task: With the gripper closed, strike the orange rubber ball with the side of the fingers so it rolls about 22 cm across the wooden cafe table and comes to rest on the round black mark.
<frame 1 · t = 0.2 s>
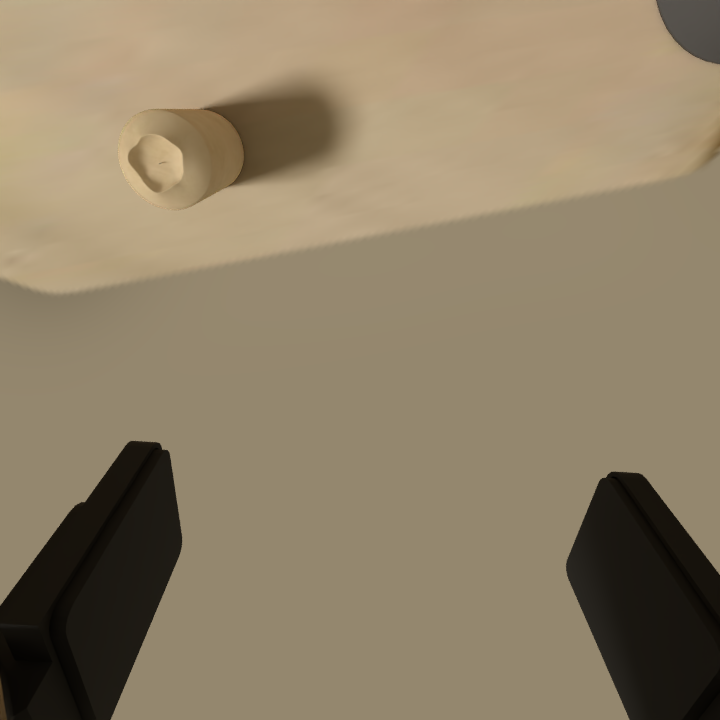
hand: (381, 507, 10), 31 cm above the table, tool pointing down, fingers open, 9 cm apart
candle: (209, 150, 35), on the table
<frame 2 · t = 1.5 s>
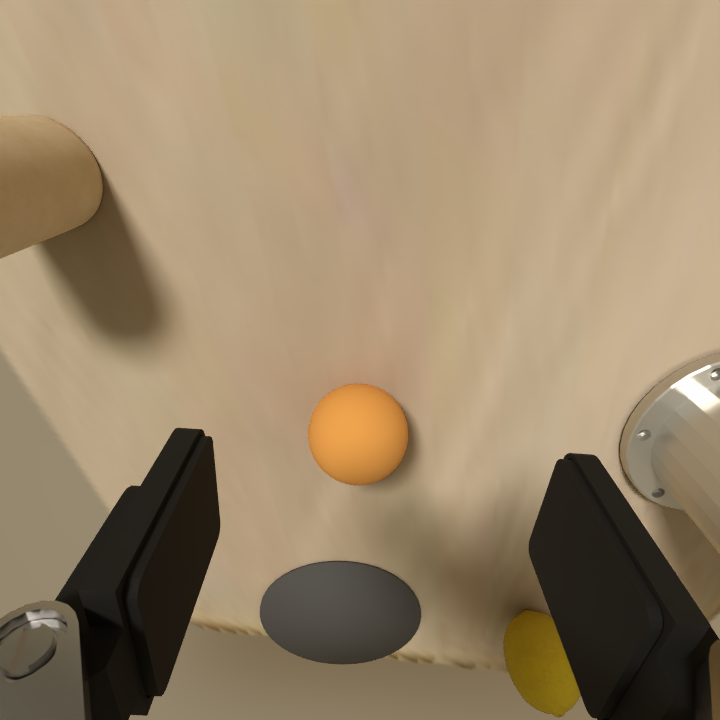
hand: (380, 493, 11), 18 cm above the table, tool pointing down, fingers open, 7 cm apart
candle: (52, 174, 25), on the table
lemon: (525, 608, 41), on the table
ball: (358, 433, 28), on the table
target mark: (340, 615, 41), on the table
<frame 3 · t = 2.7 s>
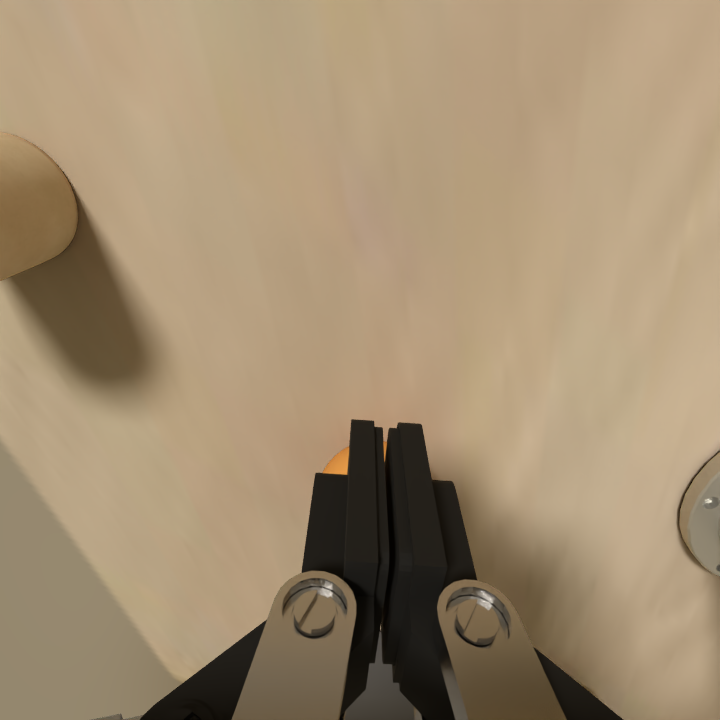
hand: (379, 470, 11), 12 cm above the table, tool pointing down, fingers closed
candle: (20, 198, 21), on the table
ball: (374, 499, 24), on the table
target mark: (350, 682, 37), on the table
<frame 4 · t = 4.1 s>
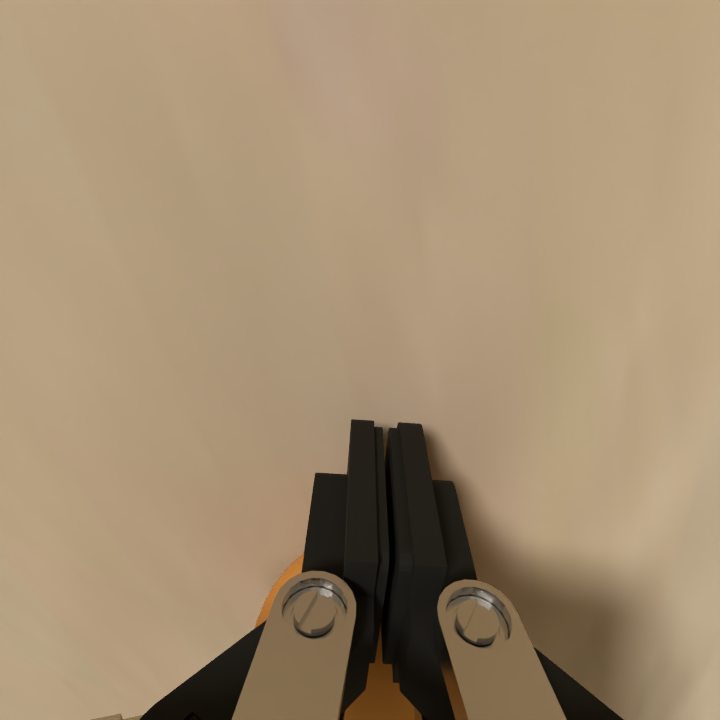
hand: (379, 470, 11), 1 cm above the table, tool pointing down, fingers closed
ball: (368, 655, 12), on the table
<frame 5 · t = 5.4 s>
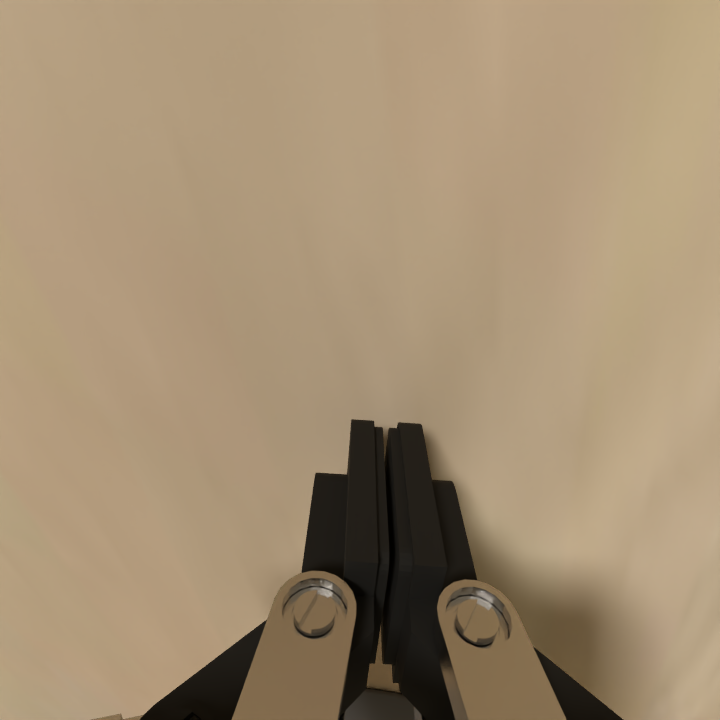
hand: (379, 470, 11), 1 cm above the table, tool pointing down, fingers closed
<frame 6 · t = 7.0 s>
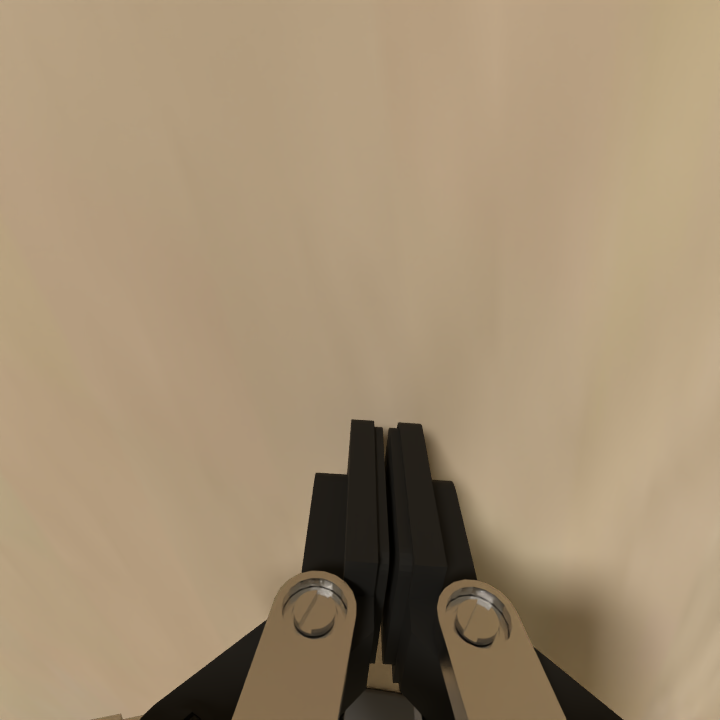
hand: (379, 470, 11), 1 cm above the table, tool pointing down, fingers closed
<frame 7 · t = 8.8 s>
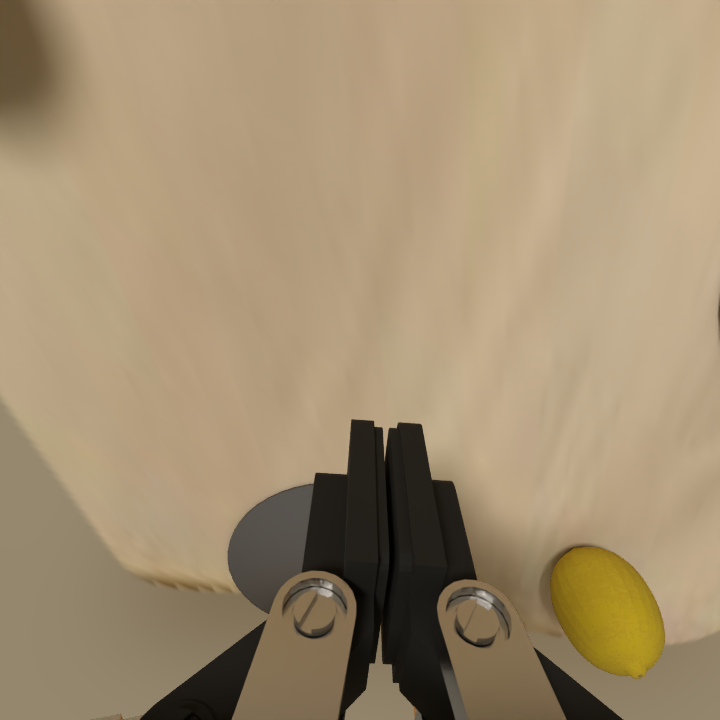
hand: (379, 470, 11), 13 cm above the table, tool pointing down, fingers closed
lemon: (573, 547, 32), on the table
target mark: (333, 562, 31), on the table
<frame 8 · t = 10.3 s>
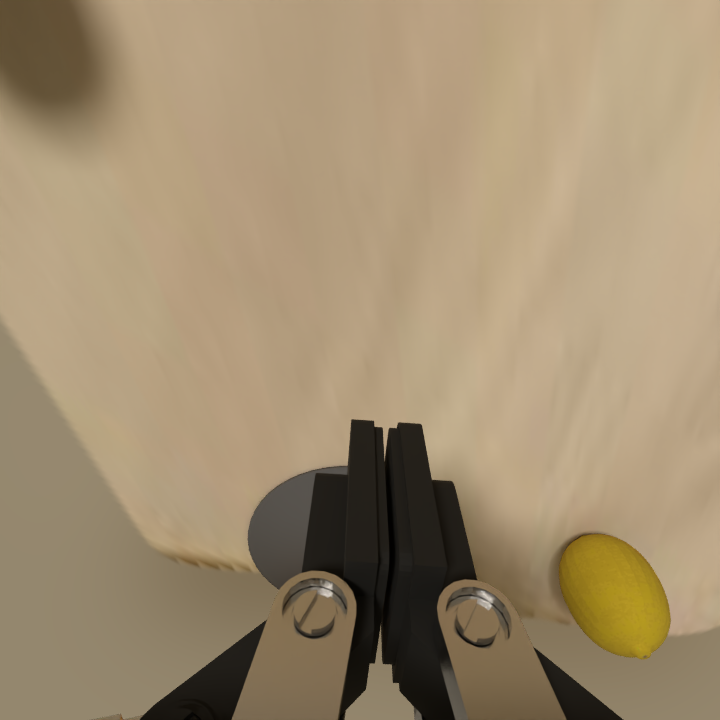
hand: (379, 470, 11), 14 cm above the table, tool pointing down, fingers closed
lemon: (582, 535, 32), on the table
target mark: (349, 544, 33), on the table
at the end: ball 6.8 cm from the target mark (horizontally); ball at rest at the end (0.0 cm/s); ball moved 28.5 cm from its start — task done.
